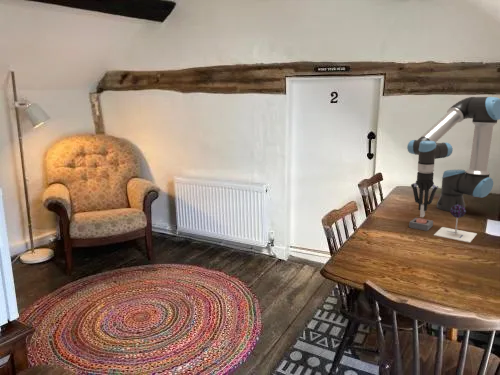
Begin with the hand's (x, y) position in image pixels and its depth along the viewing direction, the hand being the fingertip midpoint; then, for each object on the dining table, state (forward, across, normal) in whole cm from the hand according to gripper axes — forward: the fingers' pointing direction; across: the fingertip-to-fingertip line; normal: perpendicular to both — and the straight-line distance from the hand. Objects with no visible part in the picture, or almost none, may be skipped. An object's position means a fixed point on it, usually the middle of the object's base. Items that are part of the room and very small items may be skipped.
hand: (422, 216), depth 207 cm
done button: (+5, 0, 0) cm, 5 cm away
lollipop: (+5, +17, -2) cm, 18 cm away
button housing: (+6, 0, 0) cm, 6 cm away
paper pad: (+6, +17, -2) cm, 18 cm away
